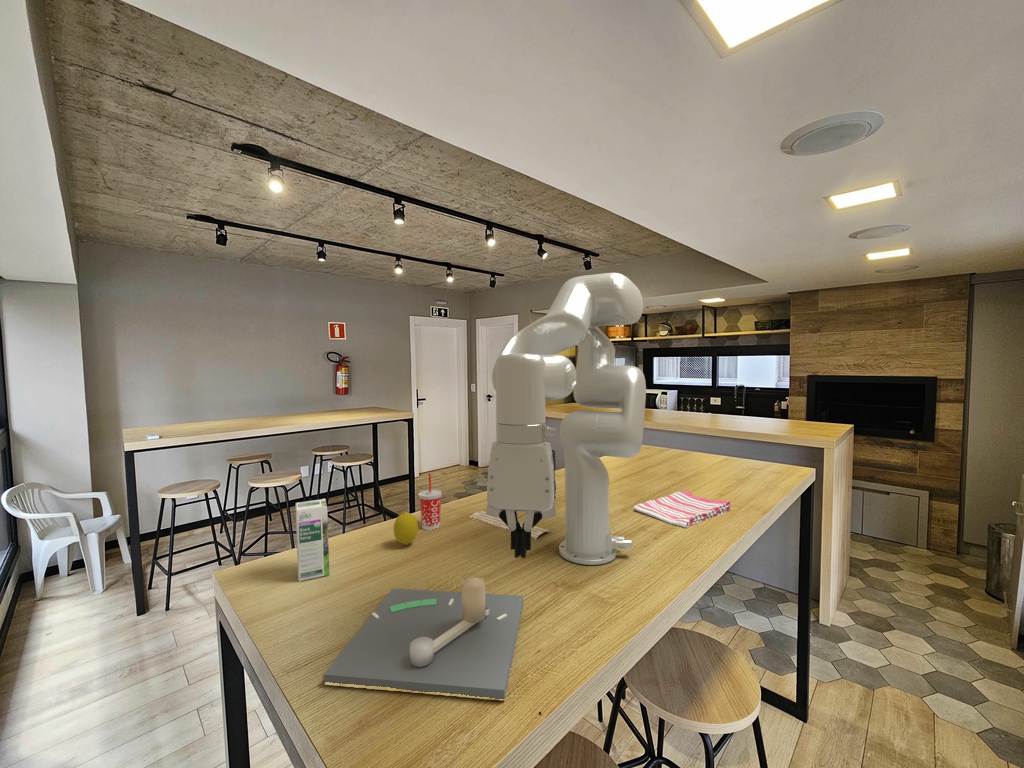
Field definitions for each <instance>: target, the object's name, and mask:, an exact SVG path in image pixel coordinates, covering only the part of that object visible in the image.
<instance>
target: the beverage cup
mask: <svg viewBox="0 0 1024 768" xmlns="http://www.w3.org/2000/svg"><path fill="white" fill-rule="evenodd" d="M431 475H432V474H431V473H428V489H425V490H422V491H420V492H418V499H419V509H420V519H421V529H422V530H424V529H425V530H424V531H433V530H432V529H434V530H436V529H435V528H437V529H439V528H440V527H441V508H442V507H441V504H442V500H441V499H442V496H443V492H442V490H439V489H432V479H431ZM439 526H440V527H439ZM438 527H439V528H438Z"/></svg>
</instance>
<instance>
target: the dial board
mask: <svg viewBox="0 0 1024 768" xmlns="http://www.w3.org/2000/svg"><path fill="white" fill-rule="evenodd" d="M485 607H486V608H488V609H489V614H488V615H487V616H485V618H484V620H482V621H480V622H477V623H476V624H474V625H473V626H471V627H470V628H469V629H467V630H466V631H464V632H463V633H462V634H460V635H459V636H457V637H456V638H455V639H453V640H452V641H450V642H449V643H448V644H446V645H445V646H443V647H442V648H441V649H439V650H438V651H436V652H435V653H434V659H433V661H432V662H431V663H430V664H428V665H426V666H422V667H417V666H414V665H412V664H411V663H410V643H411V642H412V641H413V640H415V639H417V638H420V637H429V638H431V639H432V640H433V641H434V640H435V639H436V638H438V637H439V636H441V635H442V634H444V633H445V632H447V631H448V630H450V629H451V628H453V627H454V626H456V625H457V624H458V623H460V622H461V621H463V617H462V591H460V592H459V591H445V590H444V591H443V590H428V589H427V590H425V589H423V590H422V589H410V588H409V589H408V588H407V589H406V588H391V590H390V591H389V592H388V594H386V596H385V597H384V598H383V599H382V600H381V602H380V603H379V605H378V606H377V607H376V608H375V610H374V611H373V612H372V613H371V615H369V617H368V618H367V619H366V621H365V622H364V624H363V625H362V626H361V627H360V628H359V629H358V630H357V632H356V633H355V635H354V636H353V637H352V638H351V639H350V641H349V642H348V643H347V645H346V646H345V647H344V648H343V650H342V651H341V652H340V654H339V655H338V656H337V657H336V658H335V660H334V661H333V662H332V664H331V665H330V666H329V667H328V669H326V671H325V672H324V674H323V683H324V682H330V683H331V682H332V683H339V684H341V683H342V684H354V685H355V684H356V685H365V686H377V687H378V686H379V687H380V686H381V687H390V688H396V689H403V690H404V689H405V690H411V691H419V692H420V691H421V692H423V691H424V692H435V693H436V692H440V693H441V692H442V693H450V694H461V695H463V694H464V695H466V696H467V695H469V696H475V697H477V696H479V697H489V698H495V699H505V700H506V697H505V694H507V692H506V689H507V690H508V686H507V684H508V685H509V681H508V679H509V680H510V676H509V674H510V675H511V671H510V668H511V669H512V666H511V663H512V664H513V660H514V655H513V654H515V650H514V649H516V645H515V644H517V640H516V639H518V634H519V628H520V622H521V618H522V613H523V608H524V595H517V594H516V595H513V594H496V593H485ZM512 659H513V660H512Z"/></svg>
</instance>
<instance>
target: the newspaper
mask: <svg viewBox="0 0 1024 768" xmlns="http://www.w3.org/2000/svg"><path fill="white" fill-rule="evenodd" d="M469 518H472V519H475V520H478V521H481V522H483V523H482V524H484V523H486V524H485V525H487V524H489V526H491V525H493V526H492V527H494V526H496V527H495V528H497V527H498V528H497V529H500V528H502V529H501V530H503V529H505V530H504V531H506V530H508V531H507V532H509V531H510V530H509V528H508V526H507V525H506V524H505V523H504V522H503V521H502V520H501V519H500V518H498V517H494V516H490V515H487V514H486V511H483V510H479V511H475V512H474V513H472V514H471V515H469V516H468V519H469ZM472 519H471V520H472ZM475 520H474V521H475ZM478 521H477V522H478ZM481 522H480V523H481ZM518 522H519V523H520V526H521V527H522V526H523V523H524V522H522V521H518ZM546 532H548V533H547V534H551V533H552V531H551V530H548V529H545V528H543V527H538V526H536V525H535V526H534V527H533V528H532V530H531V538H532V539H531V540H535V541H537V539H538V538H539V536H540V535H542V534H544V533H546ZM550 532H551V533H550Z"/></svg>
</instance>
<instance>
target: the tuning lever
mask: <svg viewBox="0 0 1024 768" xmlns="http://www.w3.org/2000/svg"><path fill="white" fill-rule="evenodd" d="M461 592H462V617H463V621H461V622H460V623H458V624H457V625H456V626H454V627H453V628H451V629H450V630H448V631H447V632H445V633H444V634H442V635H441V636H439V637H438V638H436V639H435V640H434V641H433V640H432V639H431V638H429V637H420V638H417V639H415V640H413V641H412V642H411V643H410V663H411V664H412V665H414V666H417V667H422V666H426V665H428V664H430V663H431V662H432V661H433V659H434V653H435V652H436V651H438V650H439V649H441V648H442V647H443V646H445V645H446V644H448V643H449V642H450V641H452V640H453V639H455V638H456V637H457V636H459V635H460V634H462V633H463V632H464V631H466V630H467V629H469V628H470V627H471V626H473V625H474V624H476V623H477V622H480V621H482V620H484V618H485V616H487V615H488V614H489V609H488V608H486V607H485V594H486V582H485V580H484V579H482V578H480V577H471V578H466V579H465V580H463V581H462V583H461Z"/></svg>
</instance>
